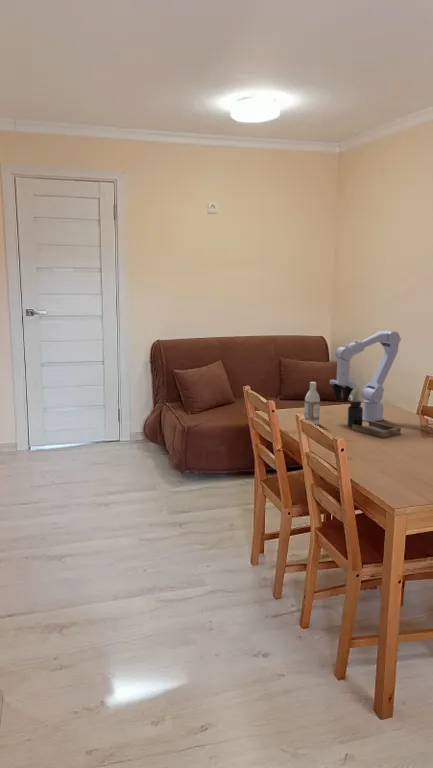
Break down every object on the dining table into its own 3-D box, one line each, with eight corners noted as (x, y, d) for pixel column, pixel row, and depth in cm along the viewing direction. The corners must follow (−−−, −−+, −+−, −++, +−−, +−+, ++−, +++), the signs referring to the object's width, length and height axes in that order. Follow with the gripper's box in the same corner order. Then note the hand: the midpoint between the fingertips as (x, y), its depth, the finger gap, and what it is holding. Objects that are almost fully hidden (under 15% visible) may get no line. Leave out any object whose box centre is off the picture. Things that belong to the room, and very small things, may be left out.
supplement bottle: (361, 424, 275) (362, 399, 273) (363, 428, 269) (364, 402, 266) (346, 424, 276) (347, 399, 274) (348, 427, 269) (349, 402, 267)
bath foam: (311, 426, 271) (312, 384, 267) (301, 423, 276) (302, 381, 273) (322, 424, 274) (323, 382, 271) (311, 421, 280) (313, 380, 276)
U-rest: (370, 425, 273) (370, 420, 272) (400, 433, 260) (400, 428, 259) (351, 430, 265) (352, 424, 265) (381, 438, 252) (381, 432, 252)
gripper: (325, 371, 278) (324, 399, 281) (349, 375, 267) (347, 404, 269) (336, 370, 282) (334, 397, 285) (359, 374, 271) (358, 402, 273)
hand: (341, 401), depth 277 cm, fingers open, 4 cm apart
